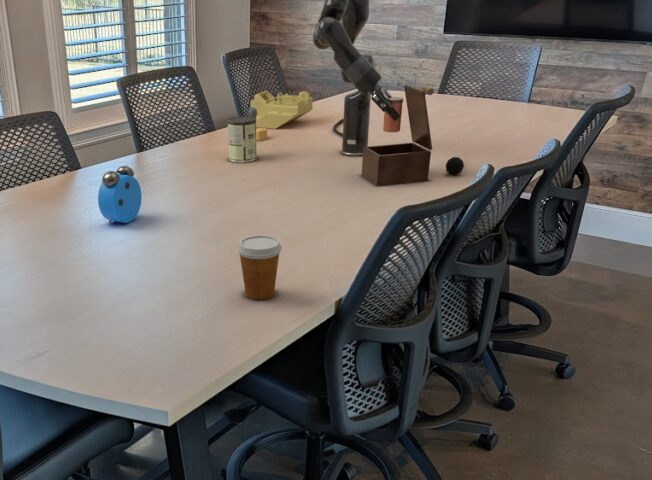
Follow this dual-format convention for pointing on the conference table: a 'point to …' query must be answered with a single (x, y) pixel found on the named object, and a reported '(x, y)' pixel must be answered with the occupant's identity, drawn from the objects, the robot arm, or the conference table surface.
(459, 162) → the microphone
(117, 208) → the alarm clock
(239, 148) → the coffee can
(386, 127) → the canister
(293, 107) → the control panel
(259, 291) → the disposable coffee cup
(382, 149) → the chest
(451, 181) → the conference table surface
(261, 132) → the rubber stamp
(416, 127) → the lid
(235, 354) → the conference table surface
